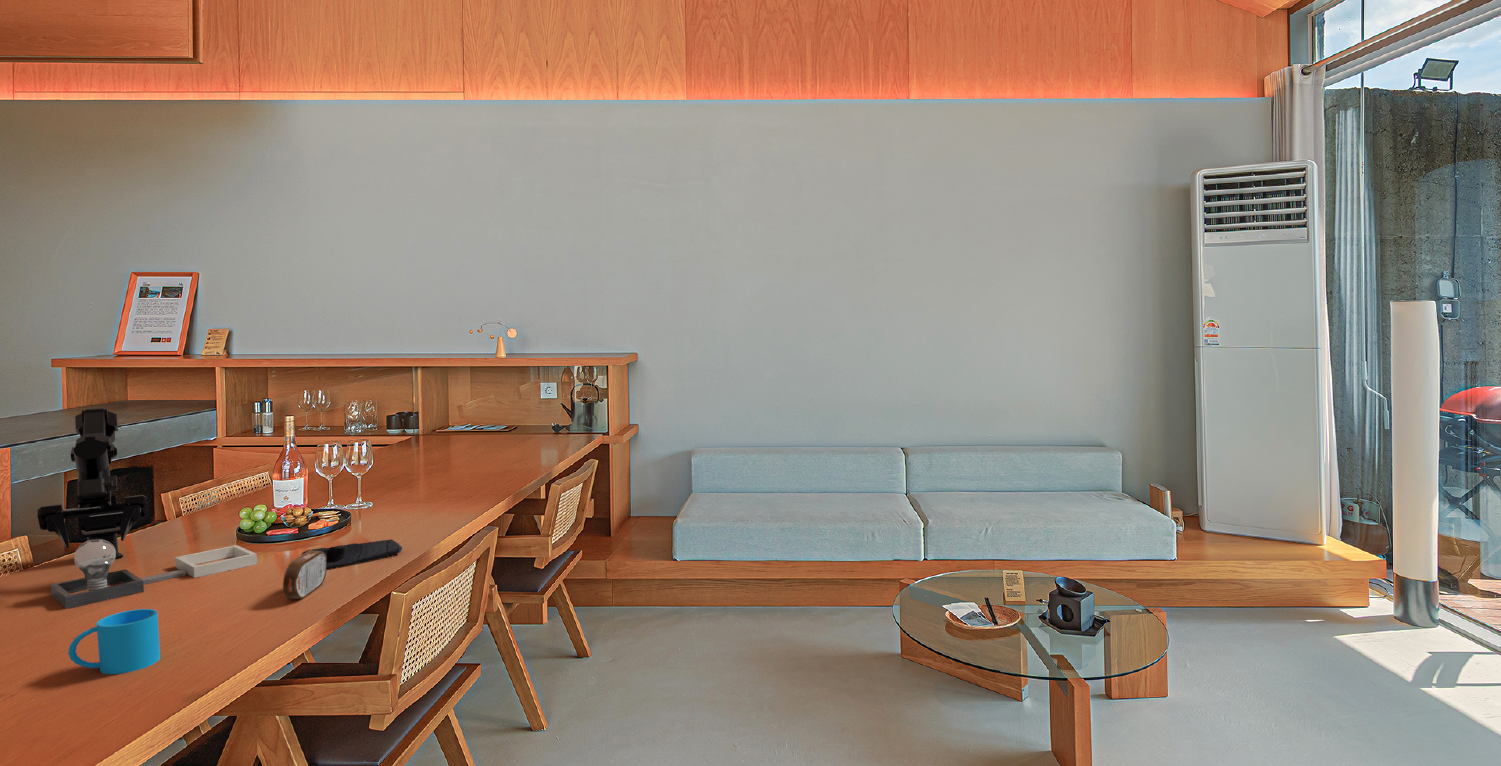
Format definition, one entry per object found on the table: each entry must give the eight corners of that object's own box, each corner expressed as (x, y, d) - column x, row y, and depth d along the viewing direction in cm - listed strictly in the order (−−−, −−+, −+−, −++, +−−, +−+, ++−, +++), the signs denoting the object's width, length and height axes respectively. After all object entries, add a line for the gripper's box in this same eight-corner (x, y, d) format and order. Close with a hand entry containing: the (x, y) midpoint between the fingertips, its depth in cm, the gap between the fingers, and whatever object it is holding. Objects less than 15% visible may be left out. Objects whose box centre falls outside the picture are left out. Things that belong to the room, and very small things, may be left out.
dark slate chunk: (407, 558, 195) (406, 540, 195) (306, 575, 182) (305, 555, 182) (394, 545, 208) (393, 527, 207) (299, 560, 195) (298, 541, 194)
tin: (316, 581, 177) (314, 545, 176) (330, 581, 177) (328, 544, 176) (282, 605, 162) (280, 565, 161) (298, 605, 162) (296, 565, 161)
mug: (161, 649, 140) (158, 605, 139) (159, 666, 133) (156, 619, 133) (73, 667, 133) (69, 620, 132) (66, 685, 126) (62, 636, 126)
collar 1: (51, 595, 168) (50, 584, 168) (126, 579, 179) (125, 569, 178) (66, 608, 160) (65, 596, 160) (143, 591, 171) (143, 580, 170)
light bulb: (94, 600, 165) (90, 544, 165) (68, 598, 167) (64, 543, 166) (126, 589, 172) (123, 535, 171) (101, 587, 174) (97, 534, 173)
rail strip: (134, 582, 177) (134, 579, 177) (181, 572, 184) (181, 569, 184) (138, 585, 175) (138, 581, 175) (186, 575, 182) (185, 571, 182)
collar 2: (175, 567, 188) (175, 557, 188) (237, 554, 198) (236, 544, 198) (194, 577, 180) (193, 567, 180) (257, 564, 190) (256, 554, 190)
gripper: (34, 469, 169) (33, 530, 161) (144, 460, 180) (147, 516, 172) (41, 499, 176) (39, 559, 168) (146, 488, 187) (149, 543, 179)
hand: (95, 543), depth 171 cm, fingers open, 9 cm apart
